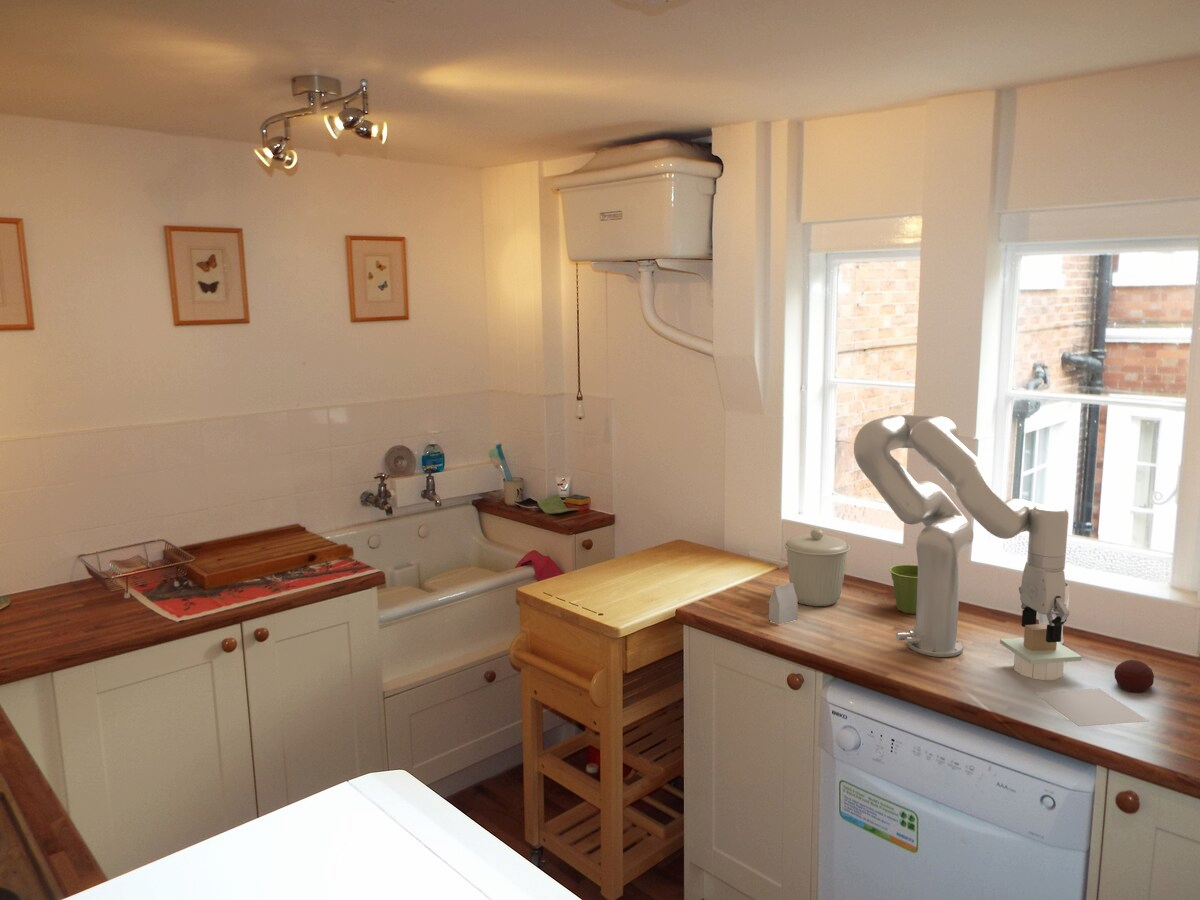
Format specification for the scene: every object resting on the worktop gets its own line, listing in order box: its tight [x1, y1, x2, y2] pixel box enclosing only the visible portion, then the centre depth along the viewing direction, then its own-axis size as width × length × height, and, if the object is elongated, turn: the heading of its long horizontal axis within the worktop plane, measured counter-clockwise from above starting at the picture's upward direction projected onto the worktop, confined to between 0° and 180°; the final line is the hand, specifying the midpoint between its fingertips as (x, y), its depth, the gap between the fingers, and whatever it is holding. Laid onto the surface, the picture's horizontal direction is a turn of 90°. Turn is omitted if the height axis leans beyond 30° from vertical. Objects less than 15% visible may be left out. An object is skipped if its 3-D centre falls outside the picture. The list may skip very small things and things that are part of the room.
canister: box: [783, 528, 851, 607], centre depth 248 cm, size 18×18×21 cm
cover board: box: [999, 623, 1083, 664], centre depth 199 cm, size 12×12×6 cm
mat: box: [1034, 688, 1149, 727], centre depth 183 cm, size 15×15×1 cm
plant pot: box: [888, 564, 918, 615], centre depth 241 cm, size 12×12×11 cm
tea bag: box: [768, 582, 798, 624], centre depth 234 cm, size 4×7×10 cm, turn 124°
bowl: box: [1013, 653, 1065, 681], centre depth 200 cm, size 10×10×5 cm
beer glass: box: [1037, 581, 1070, 645], centre depth 218 cm, size 7×7×15 cm
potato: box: [1113, 659, 1155, 693], centre depth 192 cm, size 7×10×6 cm
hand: (1040, 633), depth 199 cm, fingers open, 8 cm apart
